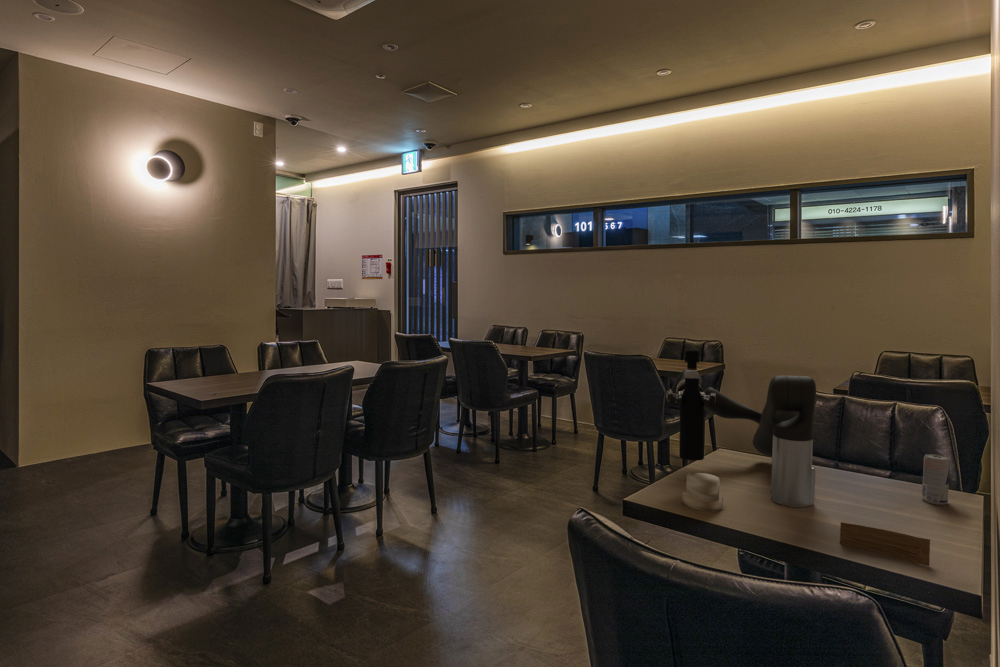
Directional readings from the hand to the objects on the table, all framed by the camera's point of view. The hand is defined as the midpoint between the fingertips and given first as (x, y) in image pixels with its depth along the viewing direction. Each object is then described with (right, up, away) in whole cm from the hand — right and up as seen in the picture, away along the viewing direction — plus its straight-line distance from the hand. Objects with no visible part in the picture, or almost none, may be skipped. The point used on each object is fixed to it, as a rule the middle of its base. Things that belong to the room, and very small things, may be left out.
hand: (692, 402), depth 151 cm
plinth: (0, -25, -8) cm, 27 cm away
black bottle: (+1, -16, +3) cm, 17 cm away
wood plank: (+27, -28, -36) cm, 53 cm away
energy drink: (+62, -26, -6) cm, 67 cm away
